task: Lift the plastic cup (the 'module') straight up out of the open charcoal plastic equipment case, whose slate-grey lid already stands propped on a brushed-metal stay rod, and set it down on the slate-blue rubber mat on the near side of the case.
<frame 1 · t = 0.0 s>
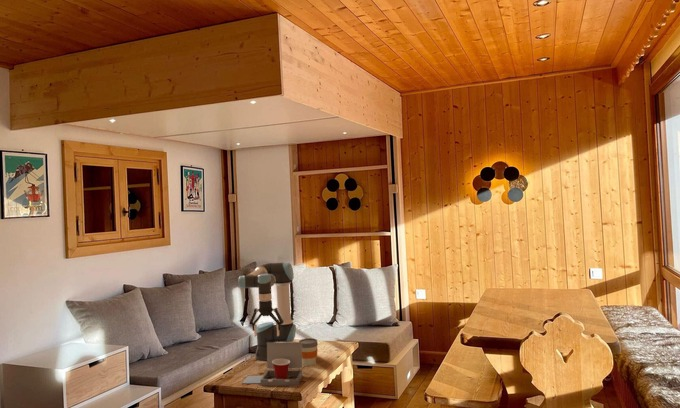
hand: (267, 335, 318), 28 cm above the table, fingers open, 13 cm apart
reusable coffee cup: (309, 364, 351), on the table
case: (282, 380, 321), on the table
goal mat: (253, 380, 324), on the table
lid: (284, 356, 330), point 12 cm above the table, hinge at 100.0°
plastic cup: (282, 381, 321), resting in case
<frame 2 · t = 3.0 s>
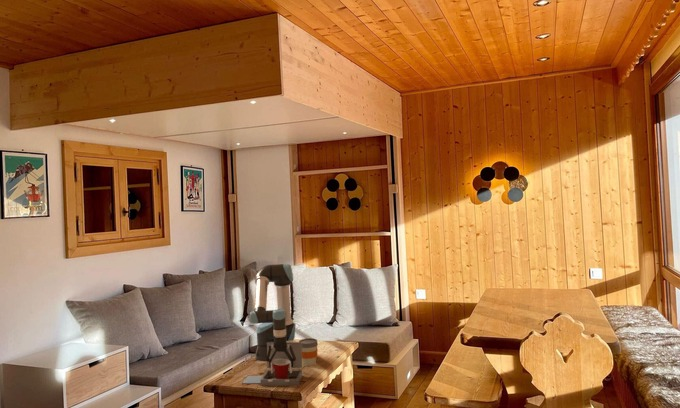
hand: (281, 372, 321), 5 cm above the table, fingers closed on plastic cup, 11 cm apart
plastic cup: (282, 381, 321), resting in case, touching gripper
everything else where it was.
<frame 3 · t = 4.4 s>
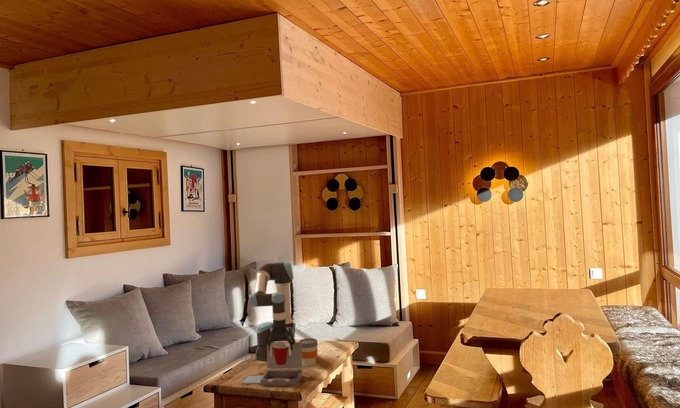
hand: (280, 355, 321), 15 cm above the table, fingers closed on plastic cup, 11 cm apart
plastic cup: (281, 363, 321), point 10 cm above the table, touching gripper
everything else where it was.
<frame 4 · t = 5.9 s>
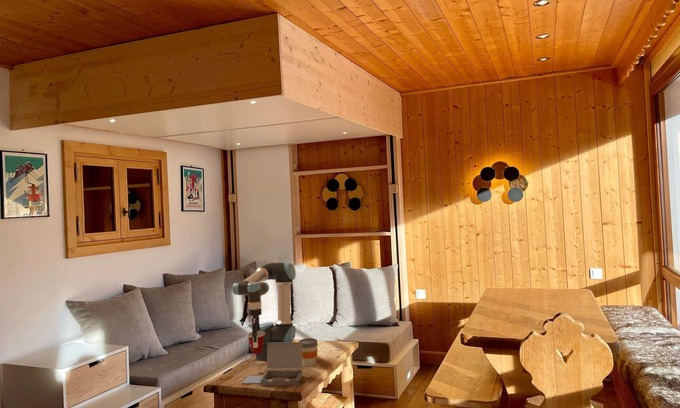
hand: (256, 344, 323), 22 cm above the table, fingers closed on plastic cup, 11 cm apart
plastic cup: (257, 353, 323), point 16 cm above the table, touching gripper
everything else where it was.
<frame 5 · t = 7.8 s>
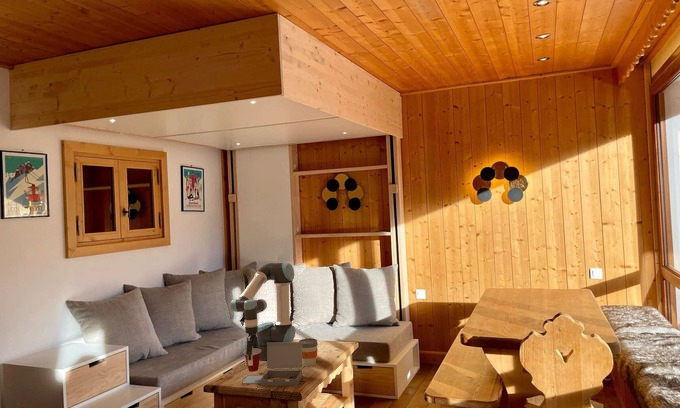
hand: (252, 362, 324), 11 cm above the table, fingers closed on plastic cup, 11 cm apart
plastic cup: (253, 370, 324), point 6 cm above the table, touching gripper
everything else where it was.
when the fingers open (7 cm above the table, at t = 9.1 s): plastic cup drops 1 cm, resting on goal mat.
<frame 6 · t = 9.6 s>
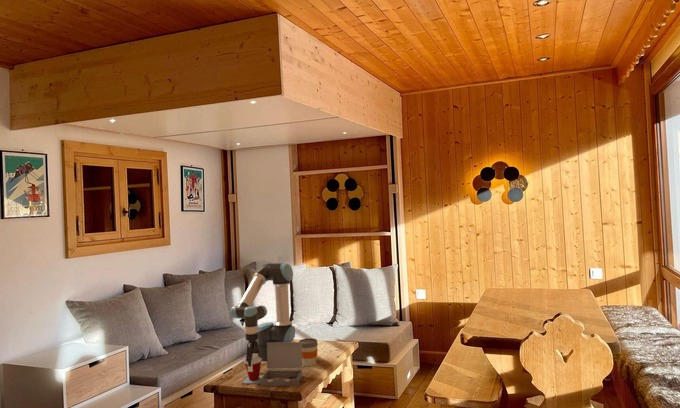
hand: (253, 367, 324), 8 cm above the table, fingers open, 13 cm apart
plastic cup: (253, 379, 324), resting on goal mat
everything else where it was.
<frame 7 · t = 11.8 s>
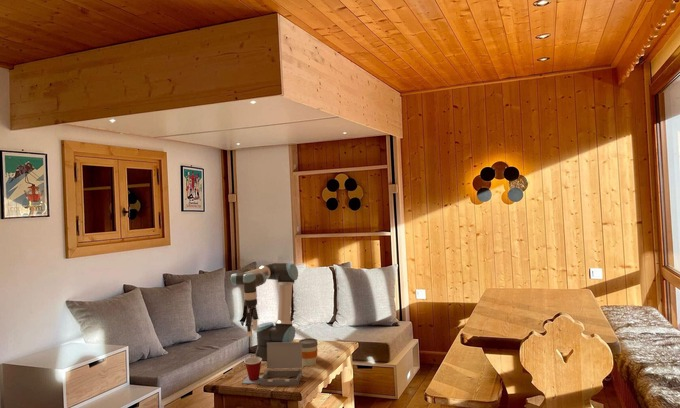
hand: (252, 333, 327), 28 cm above the table, fingers open, 13 cm apart
nothing on the table moved.
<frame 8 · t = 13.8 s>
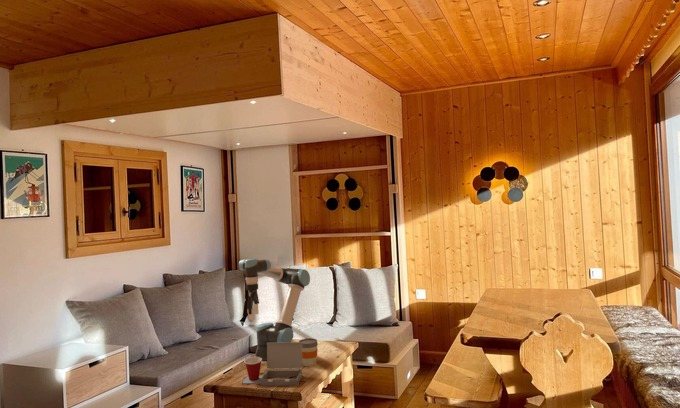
hand: (253, 316, 340), 35 cm above the table, fingers open, 13 cm apart
nothing on the table moved.
at the end: plastic cup inside the target area on the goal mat (0.2 cm from its centre), point 0.4 cm above the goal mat's base; plastic cup tilted 0°; the gripper is holding nothing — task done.
